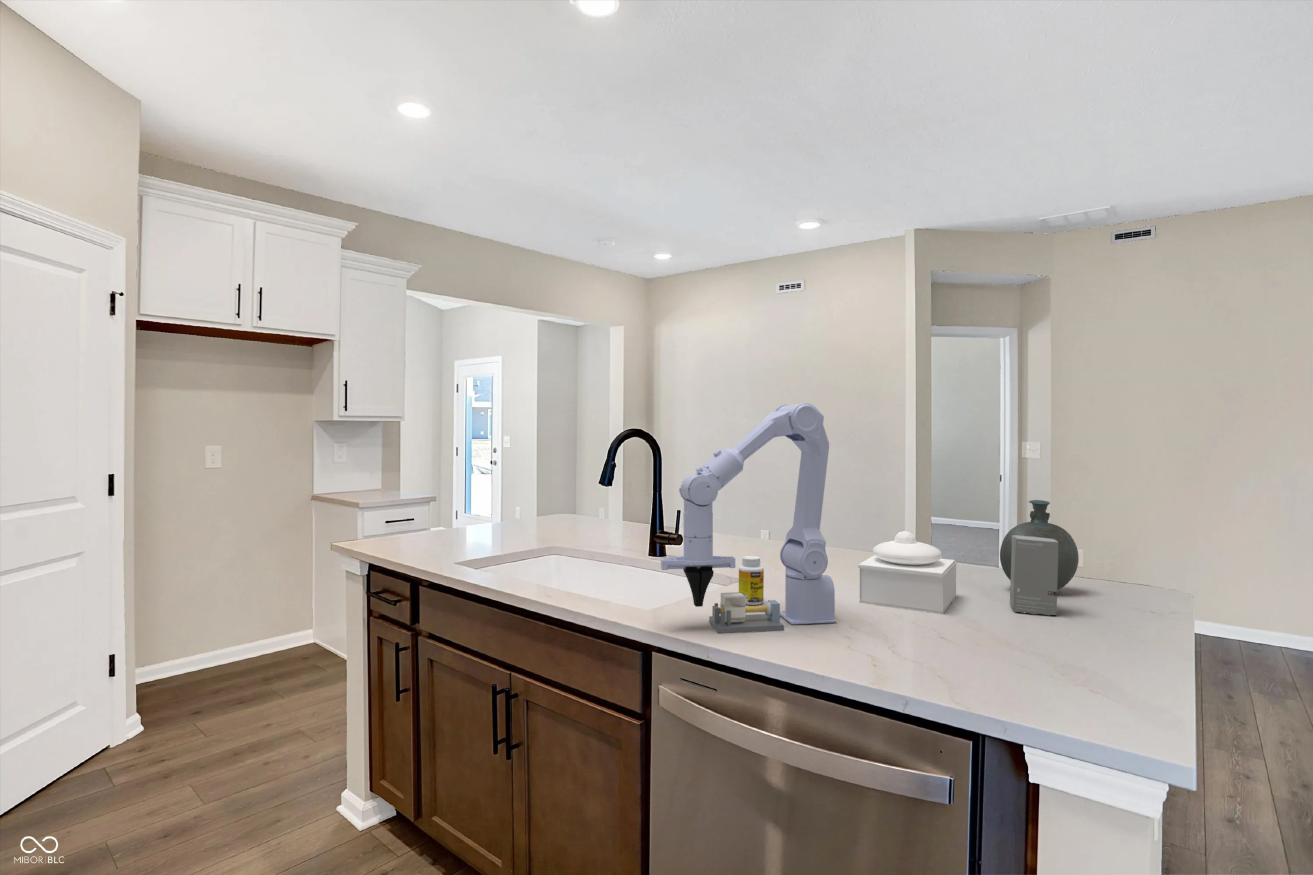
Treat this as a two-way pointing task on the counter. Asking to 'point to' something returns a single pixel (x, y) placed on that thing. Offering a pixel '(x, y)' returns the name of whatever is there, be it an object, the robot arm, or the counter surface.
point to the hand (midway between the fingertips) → (698, 605)
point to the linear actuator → (748, 619)
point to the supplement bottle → (751, 580)
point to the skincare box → (1034, 575)
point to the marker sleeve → (734, 606)
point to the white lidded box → (908, 576)
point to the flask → (1043, 530)
